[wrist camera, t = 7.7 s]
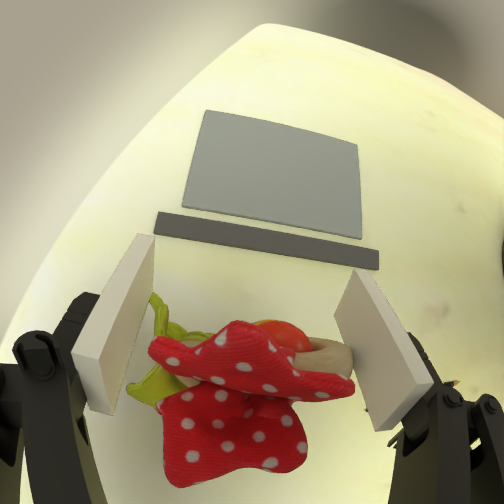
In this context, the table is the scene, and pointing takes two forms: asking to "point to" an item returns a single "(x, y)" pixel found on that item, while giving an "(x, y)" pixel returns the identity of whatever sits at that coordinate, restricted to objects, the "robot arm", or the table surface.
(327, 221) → the mat
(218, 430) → the bird rattle
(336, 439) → the table surface
